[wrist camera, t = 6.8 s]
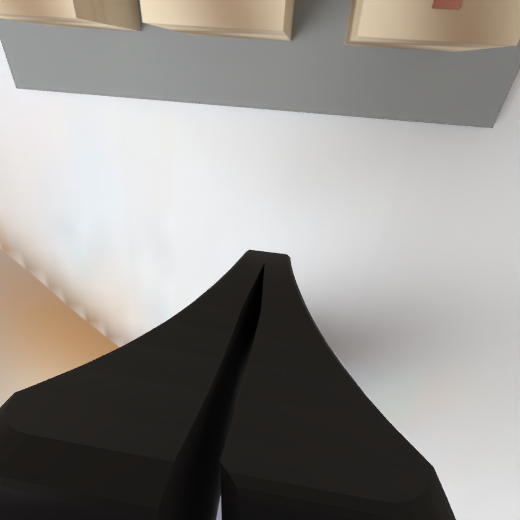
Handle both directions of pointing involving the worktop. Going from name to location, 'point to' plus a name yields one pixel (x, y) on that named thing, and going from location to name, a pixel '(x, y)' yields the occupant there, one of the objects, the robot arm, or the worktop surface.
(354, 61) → the slate mat
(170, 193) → the worktop surface
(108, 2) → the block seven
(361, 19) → the block one
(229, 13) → the plain block
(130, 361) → the robot arm
